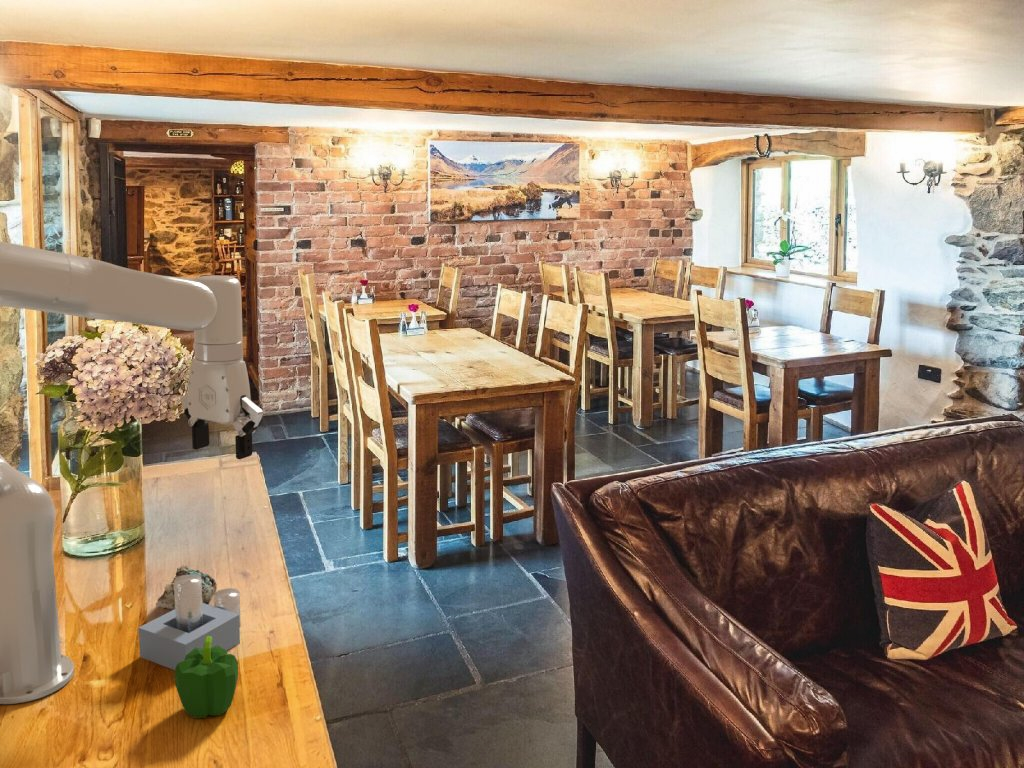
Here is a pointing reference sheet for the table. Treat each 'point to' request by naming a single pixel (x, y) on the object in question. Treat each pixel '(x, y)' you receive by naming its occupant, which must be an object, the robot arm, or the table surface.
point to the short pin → (228, 601)
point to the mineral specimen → (206, 581)
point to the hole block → (187, 636)
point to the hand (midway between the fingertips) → (222, 452)
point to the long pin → (188, 602)
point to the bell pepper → (206, 680)
